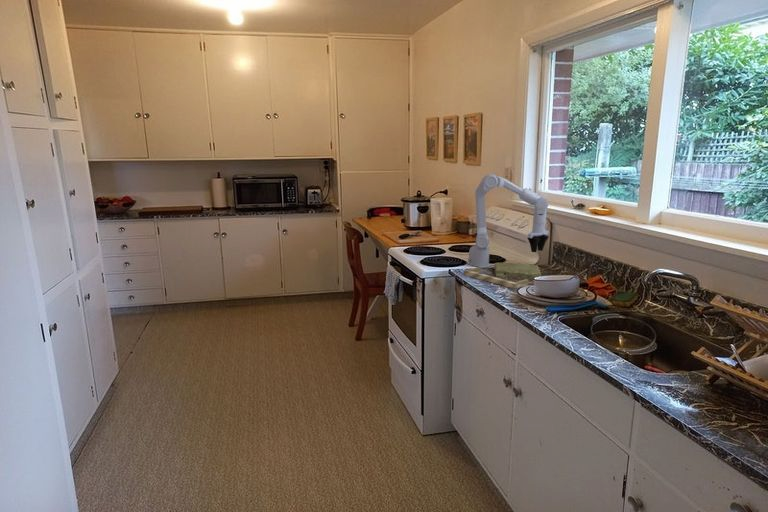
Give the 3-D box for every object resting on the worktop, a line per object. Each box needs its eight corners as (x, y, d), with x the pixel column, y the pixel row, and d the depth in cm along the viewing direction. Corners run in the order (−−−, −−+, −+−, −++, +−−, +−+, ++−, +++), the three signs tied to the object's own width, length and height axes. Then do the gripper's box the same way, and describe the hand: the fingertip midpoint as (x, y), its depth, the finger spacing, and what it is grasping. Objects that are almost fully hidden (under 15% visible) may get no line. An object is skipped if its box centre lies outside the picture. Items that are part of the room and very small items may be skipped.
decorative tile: (494, 268, 228) (494, 261, 227) (537, 270, 224) (538, 263, 223) (494, 278, 210) (495, 270, 210) (541, 281, 206) (542, 273, 206)
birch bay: (463, 274, 214) (464, 270, 214) (478, 271, 220) (478, 267, 220) (514, 288, 194) (514, 284, 194) (528, 284, 200) (528, 279, 200)
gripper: (538, 225, 214) (535, 254, 217) (555, 222, 223) (553, 250, 226) (524, 223, 219) (522, 252, 222) (542, 220, 228) (539, 248, 231)
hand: (537, 251), depth 225 cm, fingers open, 5 cm apart
